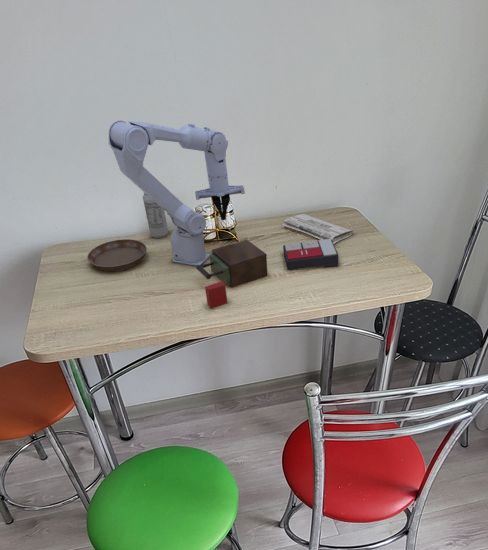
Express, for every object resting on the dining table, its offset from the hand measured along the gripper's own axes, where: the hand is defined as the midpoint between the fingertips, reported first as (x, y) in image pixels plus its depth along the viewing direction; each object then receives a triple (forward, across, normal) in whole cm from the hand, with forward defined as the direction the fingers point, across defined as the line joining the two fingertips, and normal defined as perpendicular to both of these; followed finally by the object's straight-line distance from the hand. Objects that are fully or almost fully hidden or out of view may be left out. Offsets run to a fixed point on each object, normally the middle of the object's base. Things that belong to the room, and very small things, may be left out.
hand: (223, 218), depth 149 cm
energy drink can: (+9, -21, +15) cm, 27 cm away
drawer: (+8, -2, -20) cm, 22 cm away
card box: (+9, -6, -34) cm, 35 cm away
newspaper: (+10, +30, +4) cm, 32 cm away
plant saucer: (+9, -34, -1) cm, 35 cm away
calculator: (+10, +23, -16) cm, 30 cm away
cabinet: (+9, +2, -19) cm, 21 cm away
